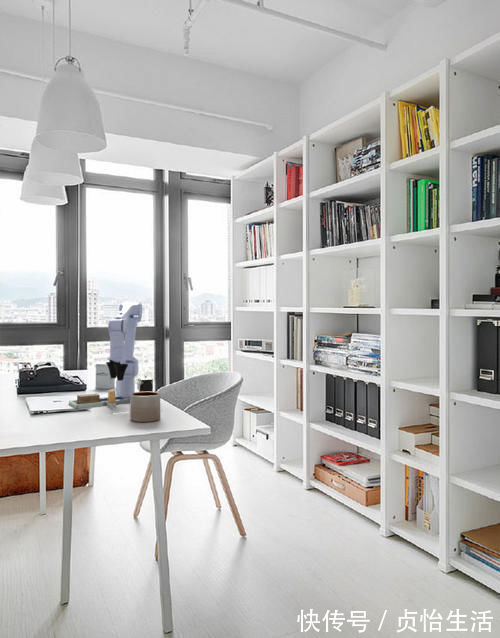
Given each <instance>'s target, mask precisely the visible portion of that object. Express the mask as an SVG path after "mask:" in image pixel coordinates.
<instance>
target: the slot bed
mask: <svg viewBox="0 0 500 638" xmlns="http://www.w3.org/2000/svg"><path fill="white" fill-rule="evenodd" d="M100 402H103V406H107V402H108V396H106V397H105V396H104V397H100ZM115 403H116V405H122V404H131V398H128V397H123V396H117V395H115ZM103 406H102V407H103Z"/></svg>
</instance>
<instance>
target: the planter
mask: <svg viewBox="0 0 500 638" xmlns="http://www.w3.org/2000/svg"><path fill="white" fill-rule="evenodd" d="M129 404H130V408H129V411H130V412H129V419H130V420H131V421H133V422H135V423H143V424H145V423H153V422H157V421H159V420H160V419H161V393H160V392H157V391H153V392H150V391H144V392H139V391H136V392H135V393H132V394H131V396H130V403H129Z"/></svg>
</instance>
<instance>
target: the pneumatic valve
mask: <svg viewBox="0 0 500 638" xmlns="http://www.w3.org/2000/svg"><path fill="white" fill-rule="evenodd" d="M136 382H137V383H136V384H137V385H136V386H137V388H136V389H137V390H138V392H144V391H150V392H154V391H153V390H154V379H153V378H152V377H151V376H147V375H144V376H138V378H137V381H136Z"/></svg>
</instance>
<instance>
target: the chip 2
mask: <svg viewBox="0 0 500 638" xmlns="http://www.w3.org/2000/svg"><path fill="white" fill-rule="evenodd" d="M86 394H87V395H90V403H98V402H100V398H101V397H100V396H101V395H100V394H99V393H86Z"/></svg>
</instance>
